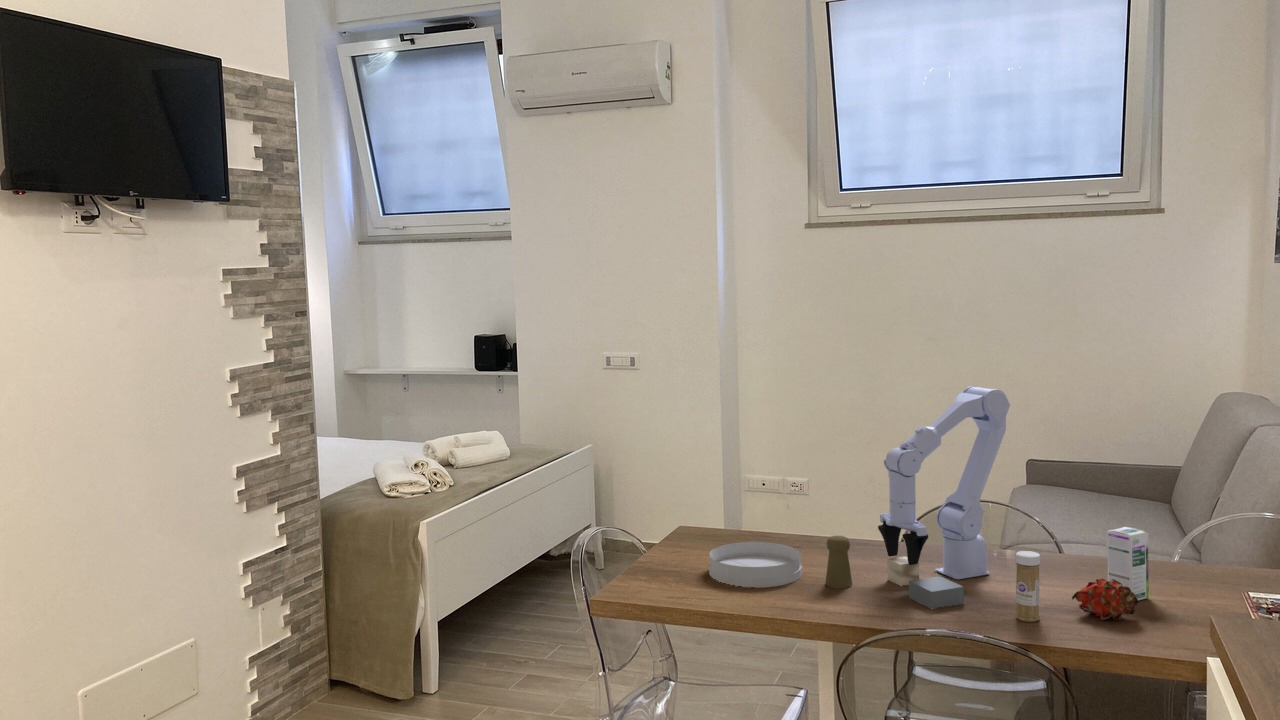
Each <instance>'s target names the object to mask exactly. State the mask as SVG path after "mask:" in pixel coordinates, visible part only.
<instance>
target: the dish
mask: <svg viewBox="0 0 1280 720" xmlns="http://www.w3.org/2000/svg"><path fill="white" fill-rule="evenodd" d="M801 557H802V554H801V552H800V551H799V550H798V549H796V548H795V547H792V546H790V545H786V544H781V543H776V542H766V541H744V542H733V543H728V544H723V545H719V546H717V547H715V548H713V549H711V550H710V552H709V563H708V573H709V575H710V576H711V577H712V578H713V579H712V578H711V577H710V576H709V577H710V578H711V579H712V580H714V579H716V580H718V581H719V582H718V581H717V582H718V583H720V582H722V583H721V584H723V583H726V584H725V585H727V584H730V585H729V586H732V585H735V586H734V587H738V586H742V587H741V588H751V587H754V588H759V589H760V588H772V587H780V586H784V585H789V584H791V583H794V582H796V581H797V580H799V579H800V578H801V576H803V566H802V561H801V560H802V558H801ZM716 580H715V581H716ZM754 588H753V589H754Z"/></svg>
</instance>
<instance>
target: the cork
mask: <svg viewBox="0 0 1280 720" xmlns="http://www.w3.org/2000/svg"><path fill="white" fill-rule="evenodd" d="M850 547H851V542H850V540H849V538H848V537H847V536H843V535H832V536H829V537H828V538H827V540H826V548H827V550H828V559H827V569H826V576H825V583H826V584H825V585H826V586H827V585H828V586H827V587H830V588H836V589H845V588H846V587H847V588H850V587H852V586H853V580H852V573H851V566H850V560H849V553H848V551H849V550H850Z"/></svg>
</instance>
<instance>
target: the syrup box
mask: <svg viewBox="0 0 1280 720" xmlns="http://www.w3.org/2000/svg"><path fill="white" fill-rule="evenodd" d="M1106 545H1107V546H1106V549H1107V551H1106V553H1107V555H1106V558H1107V559H1106V561H1107V564H1106V565H1107V581H1108V582H1109V581H1113V580H1111V579H1115V580H1117V581H1118V582H1120V583H1121V584H1122V585H1123V586H1127V587H1129V588H1130V590H1131V592H1133V593H1134V594H1135V595H1136V598H1137V599H1138V601H1141V600H1145V599H1149V597H1150V591H1149V586H1150V585H1149V584H1150V582H1149V581H1150V580H1149V532H1148V531H1146V530H1144V529H1140V528H1135V527H1129V526H1123V527H1120V528H1116V529H1109V530H1107V532H1106Z"/></svg>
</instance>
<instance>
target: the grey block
mask: <svg viewBox="0 0 1280 720" xmlns="http://www.w3.org/2000/svg"><path fill="white" fill-rule="evenodd" d="M964 591H965V590H964V586H962V585H960V584H959V583H957V582H954V581H951V580H950V579H948V578H946V577H942V576H939V575H938V576H932V577H926V578H925V577H924V578H919V580H912V581H909V585H908V598H909V599H911V600H913V601H915V602H917V603H919V604H921V603H922V604H921V605H923V606H925V605H926V606H925V607H927V606H928V607H927V608H929V607H930V608H929V609H931V608H935V609H939V608H938V607H942V608H945V607H944V606H948V607H953V606H952V605H954V606H958V605H959V604H960V605H964V604H965V597H964V596H965V595H964V594H965V593H964ZM960 605H959V606H960Z"/></svg>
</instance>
